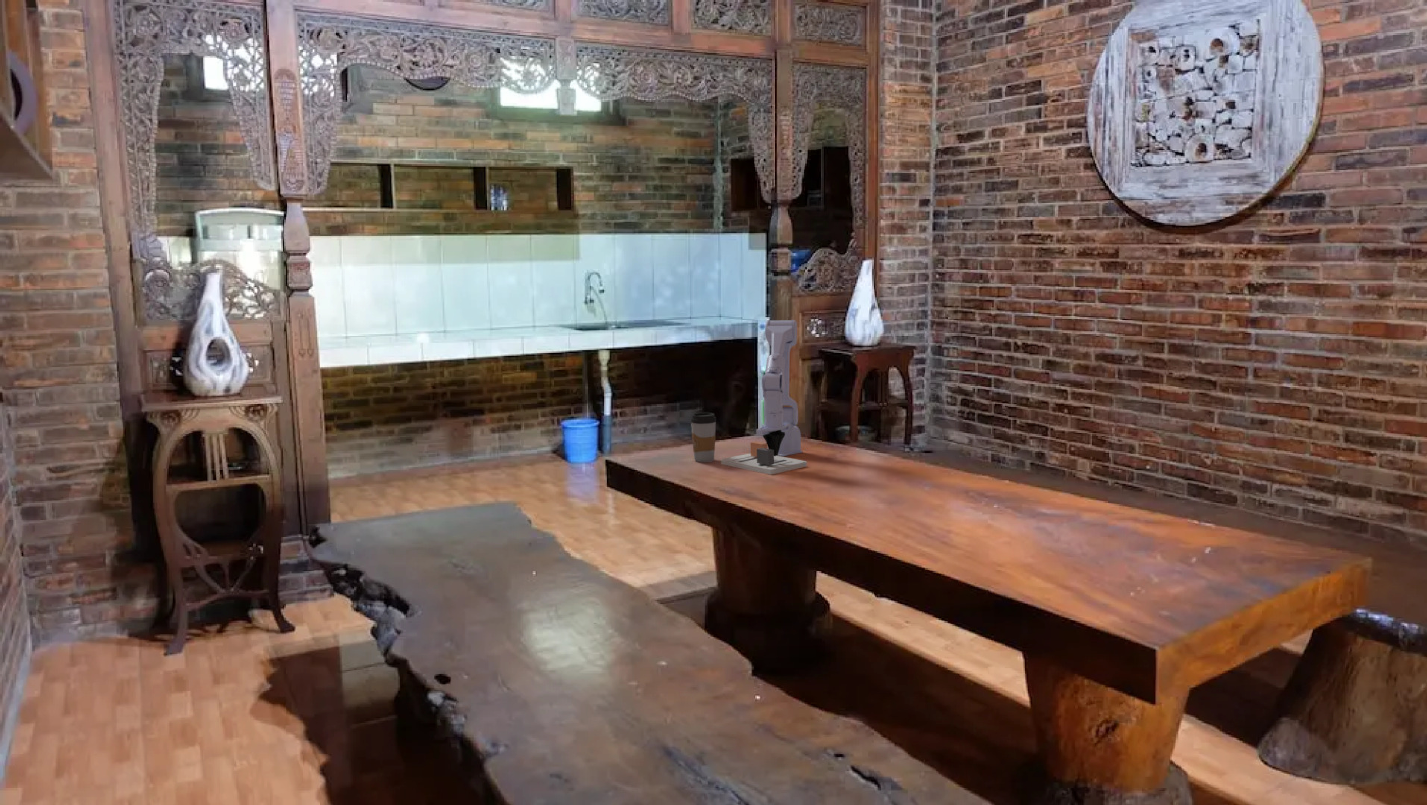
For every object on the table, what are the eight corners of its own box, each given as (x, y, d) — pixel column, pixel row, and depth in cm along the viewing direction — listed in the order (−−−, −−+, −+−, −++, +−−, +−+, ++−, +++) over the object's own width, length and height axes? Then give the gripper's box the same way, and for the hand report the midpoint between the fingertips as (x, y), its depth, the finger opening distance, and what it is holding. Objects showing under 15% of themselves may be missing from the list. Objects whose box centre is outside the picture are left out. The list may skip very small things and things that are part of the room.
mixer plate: (757, 456, 323) (757, 451, 323) (806, 466, 307) (806, 461, 307) (721, 464, 312) (720, 459, 312) (770, 474, 296) (770, 469, 296)
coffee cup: (687, 459, 320) (686, 413, 318) (710, 456, 324) (709, 411, 321) (697, 464, 313) (696, 417, 311) (721, 461, 316) (720, 415, 314)
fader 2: (762, 461, 306) (762, 447, 305) (774, 464, 302) (773, 449, 301) (757, 462, 304) (756, 448, 303) (768, 465, 300) (768, 451, 300)
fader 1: (756, 454, 316) (756, 441, 316) (767, 456, 313) (767, 443, 312) (750, 455, 315) (750, 442, 314) (761, 458, 311) (761, 444, 310)
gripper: (777, 407, 311) (778, 449, 313) (748, 414, 300) (749, 457, 302) (795, 409, 306) (796, 452, 309) (766, 416, 296) (767, 460, 298)
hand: (774, 455), depth 305 cm, fingers closed
